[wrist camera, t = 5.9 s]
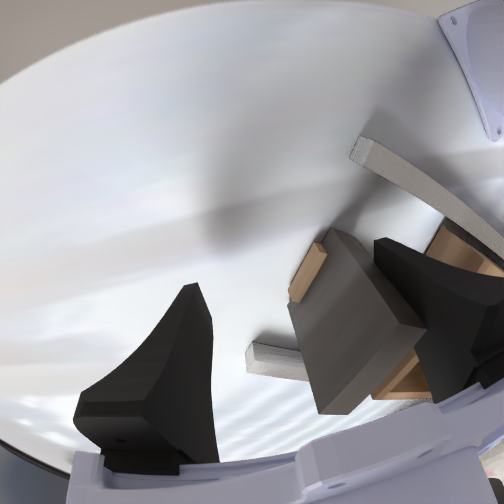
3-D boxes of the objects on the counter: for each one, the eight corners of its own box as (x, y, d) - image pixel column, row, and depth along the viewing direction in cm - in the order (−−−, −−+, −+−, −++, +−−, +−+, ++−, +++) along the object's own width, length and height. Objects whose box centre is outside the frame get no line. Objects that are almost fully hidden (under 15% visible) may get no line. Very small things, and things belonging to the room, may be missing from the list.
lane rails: (536, 274, 19) (545, 281, 18) (461, 376, 25) (466, 385, 24) (359, 135, 12) (374, 140, 11) (245, 354, 18) (246, 372, 17)
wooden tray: (505, 270, 18) (557, 320, 11) (436, 364, 22) (469, 421, 16) (349, 172, 13) (443, 241, 7) (259, 338, 17) (277, 443, 11)
